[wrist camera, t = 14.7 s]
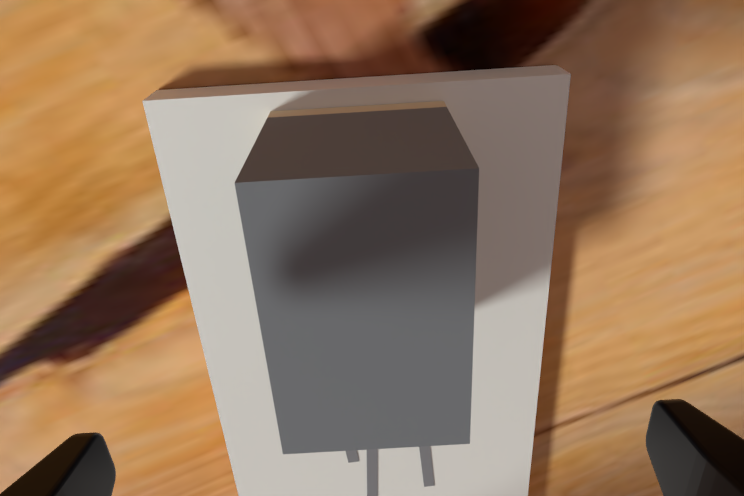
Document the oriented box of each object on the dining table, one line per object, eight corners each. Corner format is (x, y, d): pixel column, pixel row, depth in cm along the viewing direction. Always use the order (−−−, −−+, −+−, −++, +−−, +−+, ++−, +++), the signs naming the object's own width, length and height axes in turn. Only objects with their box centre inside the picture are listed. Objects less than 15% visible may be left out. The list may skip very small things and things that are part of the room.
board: (512, 551, 26) (519, 578, 25) (266, 564, 26) (261, 592, 25) (556, 64, 16) (571, 74, 15) (156, 89, 16) (141, 101, 15)
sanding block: (442, 322, 18) (469, 443, 14) (300, 330, 18) (282, 454, 14) (443, 100, 15) (478, 168, 11) (270, 110, 15) (234, 182, 11)
